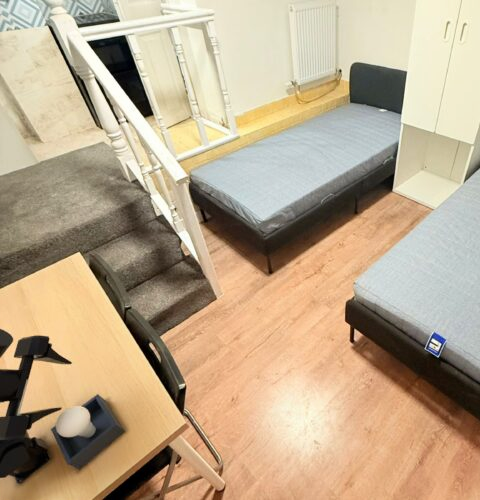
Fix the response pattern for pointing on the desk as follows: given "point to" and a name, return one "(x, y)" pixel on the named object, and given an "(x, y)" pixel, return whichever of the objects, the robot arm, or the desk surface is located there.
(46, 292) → the desk surface
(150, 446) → the desk surface
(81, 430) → the lightbulb
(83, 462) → the bin
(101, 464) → the desk surface
